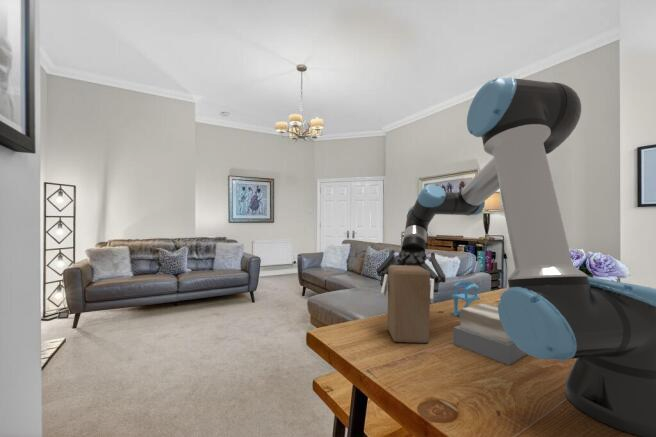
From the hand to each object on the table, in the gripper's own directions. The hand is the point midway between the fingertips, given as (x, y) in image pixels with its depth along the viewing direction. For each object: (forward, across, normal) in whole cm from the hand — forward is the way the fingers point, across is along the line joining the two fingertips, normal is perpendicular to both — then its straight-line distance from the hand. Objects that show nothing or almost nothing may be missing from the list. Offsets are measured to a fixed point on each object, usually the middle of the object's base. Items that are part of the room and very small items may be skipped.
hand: (406, 298), depth 83 cm
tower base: (+6, -22, -11) cm, 25 cm away
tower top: (+2, -23, -8) cm, 24 cm away
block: (+7, 0, -9) cm, 12 cm away
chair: (-13, -16, -30) cm, 36 cm away
